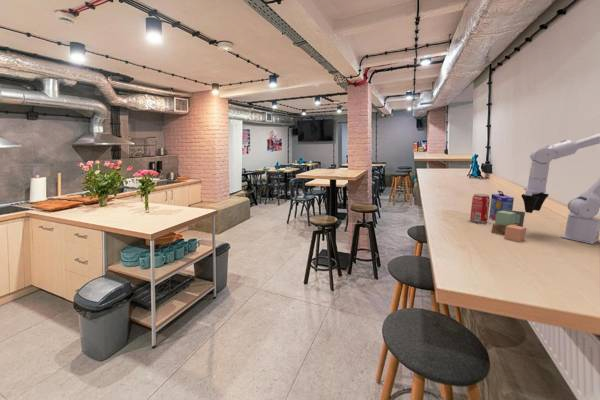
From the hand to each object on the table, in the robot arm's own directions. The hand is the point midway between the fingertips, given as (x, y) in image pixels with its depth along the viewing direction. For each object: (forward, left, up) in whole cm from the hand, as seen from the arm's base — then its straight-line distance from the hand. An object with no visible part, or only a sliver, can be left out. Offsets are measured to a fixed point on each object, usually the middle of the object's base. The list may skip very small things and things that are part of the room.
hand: (532, 211), depth 119 cm
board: (+8, -4, -9) cm, 13 cm away
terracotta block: (0, +14, -10) cm, 17 cm away
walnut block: (+6, +8, -10) cm, 14 cm away
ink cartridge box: (+17, -14, -10) cm, 24 cm away
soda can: (+21, -2, -10) cm, 23 cm away
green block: (+6, +8, -6) cm, 12 cm away
